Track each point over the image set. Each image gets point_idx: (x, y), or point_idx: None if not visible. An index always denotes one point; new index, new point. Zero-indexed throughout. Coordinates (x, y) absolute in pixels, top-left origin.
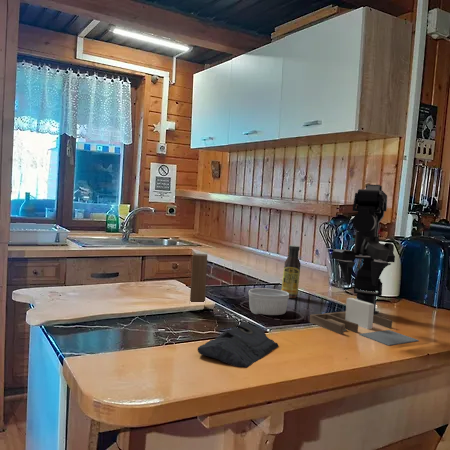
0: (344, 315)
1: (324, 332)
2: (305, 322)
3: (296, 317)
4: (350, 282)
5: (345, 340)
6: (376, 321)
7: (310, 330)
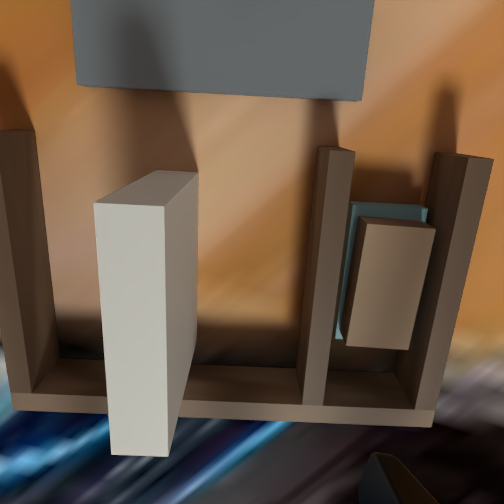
0: None
1: None
2: None
3: None
4: (396, 481)
5: (487, 90)
6: (30, 243)
7: (495, 312)
